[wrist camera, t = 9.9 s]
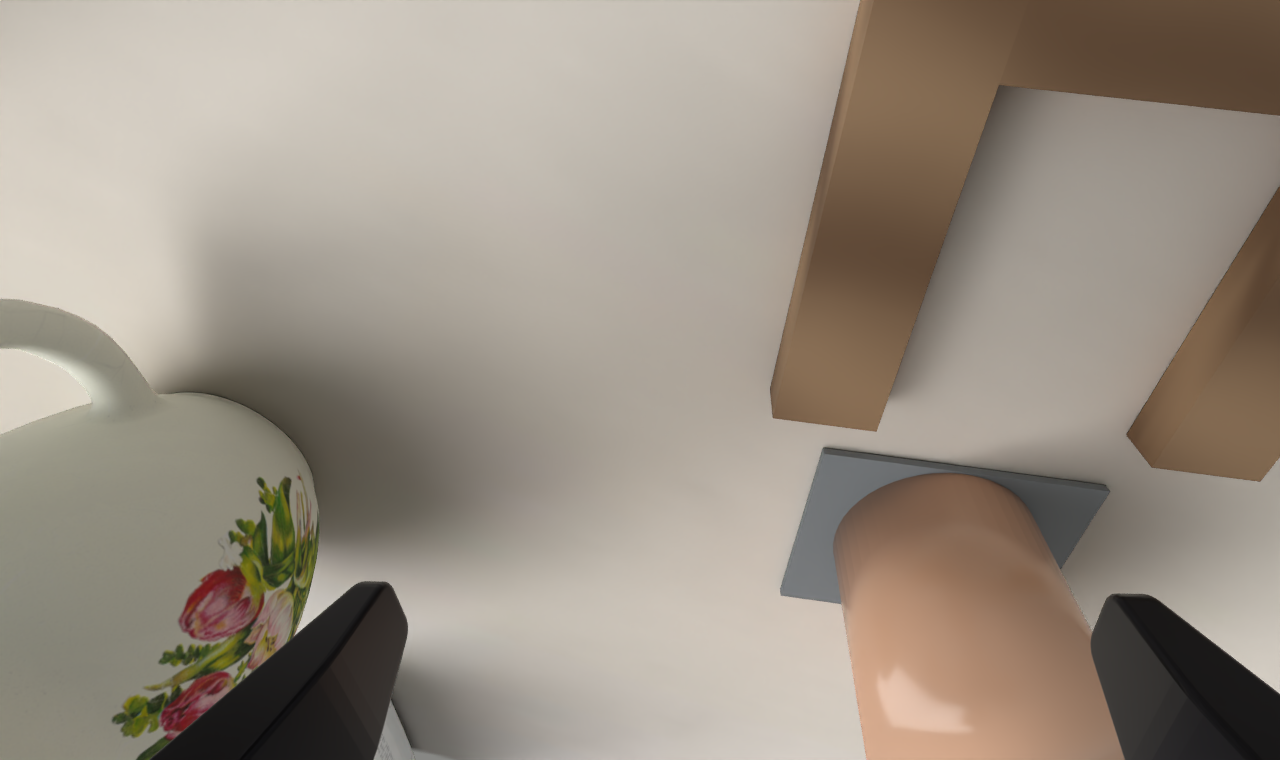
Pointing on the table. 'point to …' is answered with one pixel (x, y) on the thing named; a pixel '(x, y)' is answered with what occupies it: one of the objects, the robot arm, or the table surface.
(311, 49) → the table surface
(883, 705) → the peach rounded canister
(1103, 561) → the table surface
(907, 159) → the brown u-shaped piece
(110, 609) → the pitcher
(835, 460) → the mat
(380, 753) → the white tombstone
